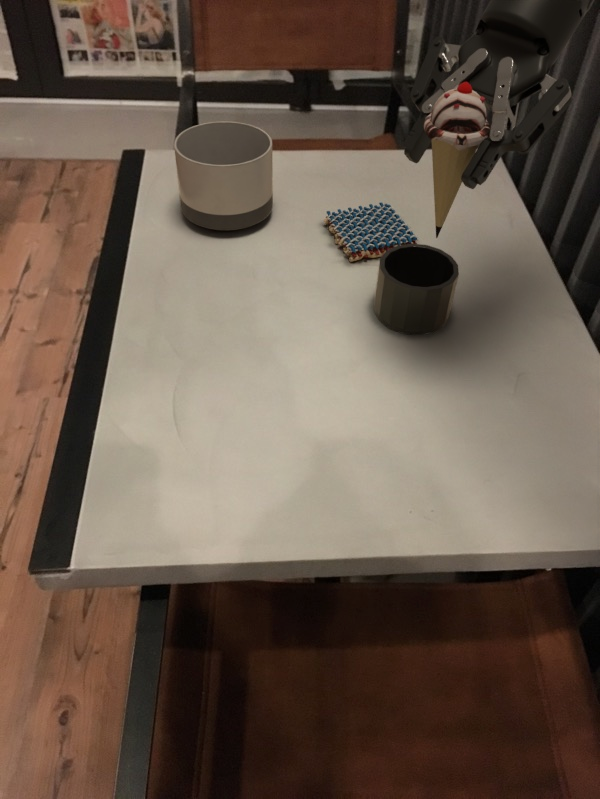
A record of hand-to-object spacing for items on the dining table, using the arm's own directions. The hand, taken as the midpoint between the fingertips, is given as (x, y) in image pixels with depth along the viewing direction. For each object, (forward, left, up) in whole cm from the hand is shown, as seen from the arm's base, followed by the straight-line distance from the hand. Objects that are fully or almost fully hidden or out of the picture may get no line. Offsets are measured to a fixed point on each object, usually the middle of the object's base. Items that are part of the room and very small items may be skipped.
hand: (438, 170), depth 61 cm
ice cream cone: (0, -2, -8) cm, 8 cm away
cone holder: (+3, -8, -22) cm, 24 cm away
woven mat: (+14, -20, -23) cm, 33 cm away
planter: (+34, -15, -23) cm, 43 cm away
